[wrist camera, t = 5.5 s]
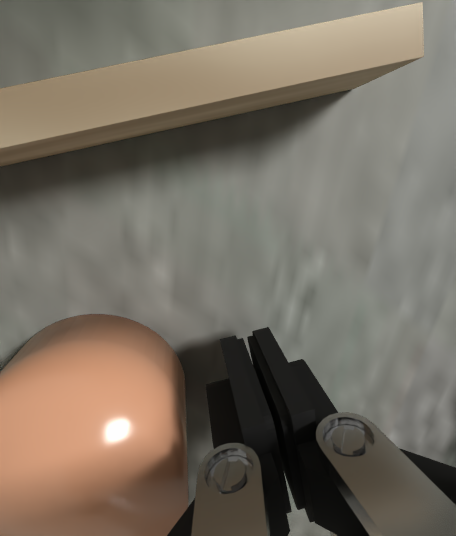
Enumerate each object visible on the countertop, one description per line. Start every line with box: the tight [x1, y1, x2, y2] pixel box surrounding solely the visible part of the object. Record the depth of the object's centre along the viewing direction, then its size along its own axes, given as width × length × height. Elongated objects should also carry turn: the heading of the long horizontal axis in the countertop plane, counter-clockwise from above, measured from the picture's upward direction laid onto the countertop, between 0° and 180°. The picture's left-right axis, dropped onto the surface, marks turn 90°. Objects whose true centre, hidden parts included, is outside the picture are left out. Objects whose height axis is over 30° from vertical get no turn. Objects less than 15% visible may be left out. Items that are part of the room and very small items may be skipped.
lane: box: [0, 2, 424, 167], centre depth 11 cm, size 22×28×3 cm
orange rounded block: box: [0, 314, 189, 536], centre depth 10 cm, size 6×6×4 cm
